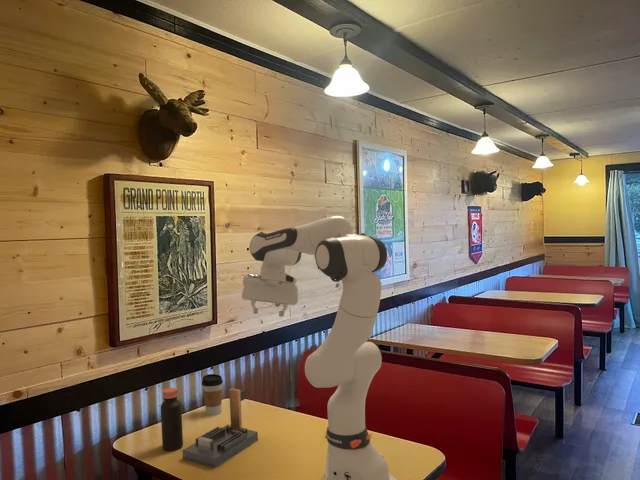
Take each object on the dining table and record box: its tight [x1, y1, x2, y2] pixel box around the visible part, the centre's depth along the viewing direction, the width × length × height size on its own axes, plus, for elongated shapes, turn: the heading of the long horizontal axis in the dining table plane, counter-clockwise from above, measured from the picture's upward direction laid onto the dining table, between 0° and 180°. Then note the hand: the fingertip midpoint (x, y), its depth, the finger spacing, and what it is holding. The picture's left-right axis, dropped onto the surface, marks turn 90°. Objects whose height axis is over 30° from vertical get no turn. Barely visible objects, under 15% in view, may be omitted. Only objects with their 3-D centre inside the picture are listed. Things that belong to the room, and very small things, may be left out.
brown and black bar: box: [228, 387, 247, 432], centre depth 174 cm, size 4×4×15 cm
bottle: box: [160, 387, 184, 452], centre depth 169 cm, size 7×7×20 cm
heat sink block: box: [182, 423, 259, 469], centre depth 166 cm, size 22×14×6 cm, turn 150°
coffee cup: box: [201, 373, 224, 417], centre depth 199 cm, size 8×8×15 cm
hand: (268, 314), depth 174 cm, fingers open, 8 cm apart
